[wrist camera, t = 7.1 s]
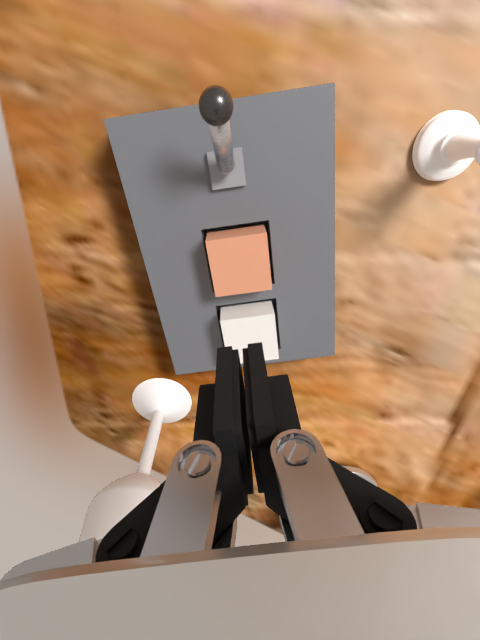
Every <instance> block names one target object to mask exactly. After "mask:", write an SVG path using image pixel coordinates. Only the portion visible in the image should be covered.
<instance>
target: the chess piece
mask: <svg viewBox="0 0 480 640" xmlns="http://www.w3.org/2000/svg"><path fill="white" fill-rule="evenodd" d="M474 158H475V159H476V162H477V163H478V164H479V165H480V126H479V124H478V122H477V120H476V119H475V118H474V117H473V116H472V115H471V114H469V113H467V112H464V111H459V110H448V111H444V112H442V113H439V114H437V115H436V116H434V117H433V118H431V119H430V120H429V121H428V122H427V123H426V124H425V125H424V126H423V127H422V129H421V130H420V132H419V133H418V135H417V137H416V139H415V142H414V145H413V150H412V161H413V165H414V168H415V170H416V171H417V173H418V174H419V175H420V176H421V177H423V178H425V179H427V180H430V181H443V180H448V179H451V178H453V177H455V176H457V175H459V174H460V173H461V172H463V171H464V170H465V169H466V168H467V167H468V166H469V165H470V164H471V162H472V161H473V159H474Z"/></svg>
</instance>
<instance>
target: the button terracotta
mask: <svg viewBox="0 0 480 640" xmlns="http://www.w3.org/2000/svg"><path fill="white" fill-rule="evenodd" d="M205 243H206V248H207V254H208V259H209V264H210V270H211V275H212V280H213V286H214V291H215V297H221V296H229V295H236V294H244V293H251V292H259V291H266V290H272V281H271V271H270V260H269V250H268V240H267V232H266V229H265V227H264V225H258V226H251V227H244V228H237V229H230V230H223V231H216V232H209V233H207V236H206V240H205Z"/></svg>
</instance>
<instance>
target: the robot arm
mask: <svg viewBox="0 0 480 640" xmlns="http://www.w3.org/2000/svg"><path fill="white" fill-rule="evenodd" d="M242 351H243V367H244V382H243V376H242V370H241V364H240V358H239V352H238V349H235V350H233V349H232V346H228V347H220V348H217V359H216V378H215V383H214V384H206V385H200V388H199V395H198V404H197V413H196V421H195V430H194V439H193V442H191V443H188V444H186V445H185V446H183V447H182V448H181V449H180V450H179V451H178V452H177V453H176V455H175V457H174V459H173V461H172V464H171V467H170V470H169V473H168V476H167V478H166V480H165V481H164V482H163V483H162V484H161V485H160V486H159V487H158V488H156V489H155V490H154V491H153V492H152V493H151V494H150V495H149V496H147V497H146V498H145V499H144V500H143V501H142V502H141V503H140V504H138V505H137V506H136V507H135V508H134V509H133V510H132V511H131V512H129V513H128V514H127V515H126V516H125V517H124V518H123V519H122V520H120V521H119V522H118V523H117V524H116V525H115V526H114V527H113V528H111V529H110V531H109V532H108V533H107V534H106V535H105V536H104V538H102V539H99V540H96V539H95V537H93V538H90V539H87V540H84V541H81V542H78V543H76V544H73V545H70V546H67V547H64V548H61V549H58V550H55V551H52V552H50V553H47V554H44V555H41V556H38V557H35V558H32V559H29V560H27V561H24V562H22V563H20V564H18V565H16V566H15V567H13V568H12V569H11V570H10V571H9V572H8V573H6V574H5V576H4V577H3V578H2V579H1V580H0V640H480V509H471V508H462V507H454V506H445V505H436V504H428V503H419V502H417V504H416V506H411V505H405V504H404V503H403V502H401V501H400V500H399V499H397V498H396V497H394V496H393V495H391V494H389V493H387V492H386V491H384V490H382V489H381V488H379V487H378V485H377V483H376V481H375V479H374V478H373V477H372V476H371V475H370V474H369V473H367V472H365V471H364V470H361V469H359V468H356V467H351V466H343V465H339V464H338V463H336V462H334V461H332V460H331V459H329V458H327V456H326V454H325V452H324V450H323V448H322V446H321V444H320V442H319V441H318V439H317V438H316V437H315V436H314V435H312V434H311V433H309V432H307V431H304V430H301V427H300V423H299V419H298V415H297V410H296V406H295V402H294V398H293V394H292V390H291V386H290V382H289V378H288V375H278V376H270V377H267V371H266V365H265V358H264V352H263V346H262V342H259V343H251V344H248V348H243V349H242ZM244 383H245V388H244ZM250 446H251V447H250ZM251 451H252V457H253V463H254V469H255V474H256V480H257V486H258V492H259V493H264V494H265V501H266V505H267V506H268V507H269V508H270V509H272V510H273V511H274V512H275V513H277V514H278V515H279V518H280V523H281V527H282V530H283V534H284V537H285V540H286V542H279V543H269V544H260V545H250V546H241V547H234V546H235V539H236V530H237V517H238V515H239V514H240V513H241V512H242V511H243V510H244V509H245V506H247V505H248V495H247V494H253V493H254V492H253V476H252V462H251Z"/></svg>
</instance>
